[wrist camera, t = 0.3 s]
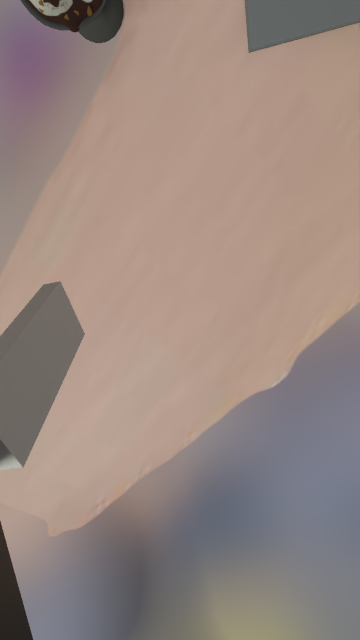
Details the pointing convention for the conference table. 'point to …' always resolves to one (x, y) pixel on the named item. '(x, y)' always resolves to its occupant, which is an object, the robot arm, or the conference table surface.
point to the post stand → (295, 19)
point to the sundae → (80, 16)
